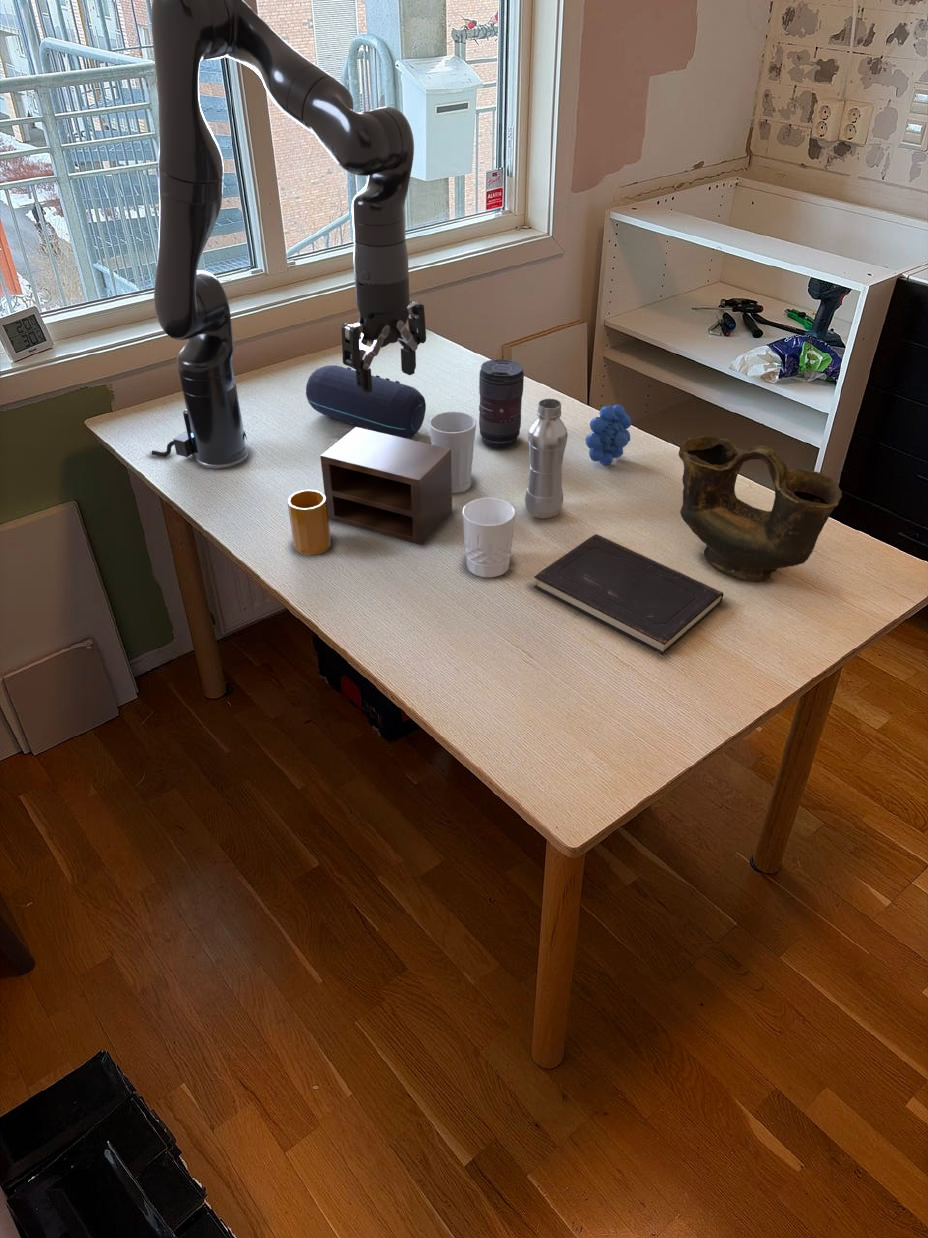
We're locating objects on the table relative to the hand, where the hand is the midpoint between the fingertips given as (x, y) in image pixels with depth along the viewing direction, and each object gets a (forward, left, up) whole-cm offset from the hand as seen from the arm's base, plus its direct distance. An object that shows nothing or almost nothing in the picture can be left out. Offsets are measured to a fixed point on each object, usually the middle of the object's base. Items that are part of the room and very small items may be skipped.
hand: (387, 381), depth 138 cm
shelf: (-2, +2, -25) cm, 25 cm away
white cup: (+19, -4, -25) cm, 32 cm away
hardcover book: (+41, -2, -25) cm, 48 cm away
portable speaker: (-22, +29, -25) cm, 44 cm away
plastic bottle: (+21, +14, -25) cm, 36 cm away
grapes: (+26, +34, -25) cm, 50 cm away
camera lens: (+4, +34, -25) cm, 42 cm away
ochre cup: (-9, -11, -25) cm, 29 cm away
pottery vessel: (+54, +14, -25) cm, 61 cm away
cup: (+3, +16, -25) cm, 30 cm away
